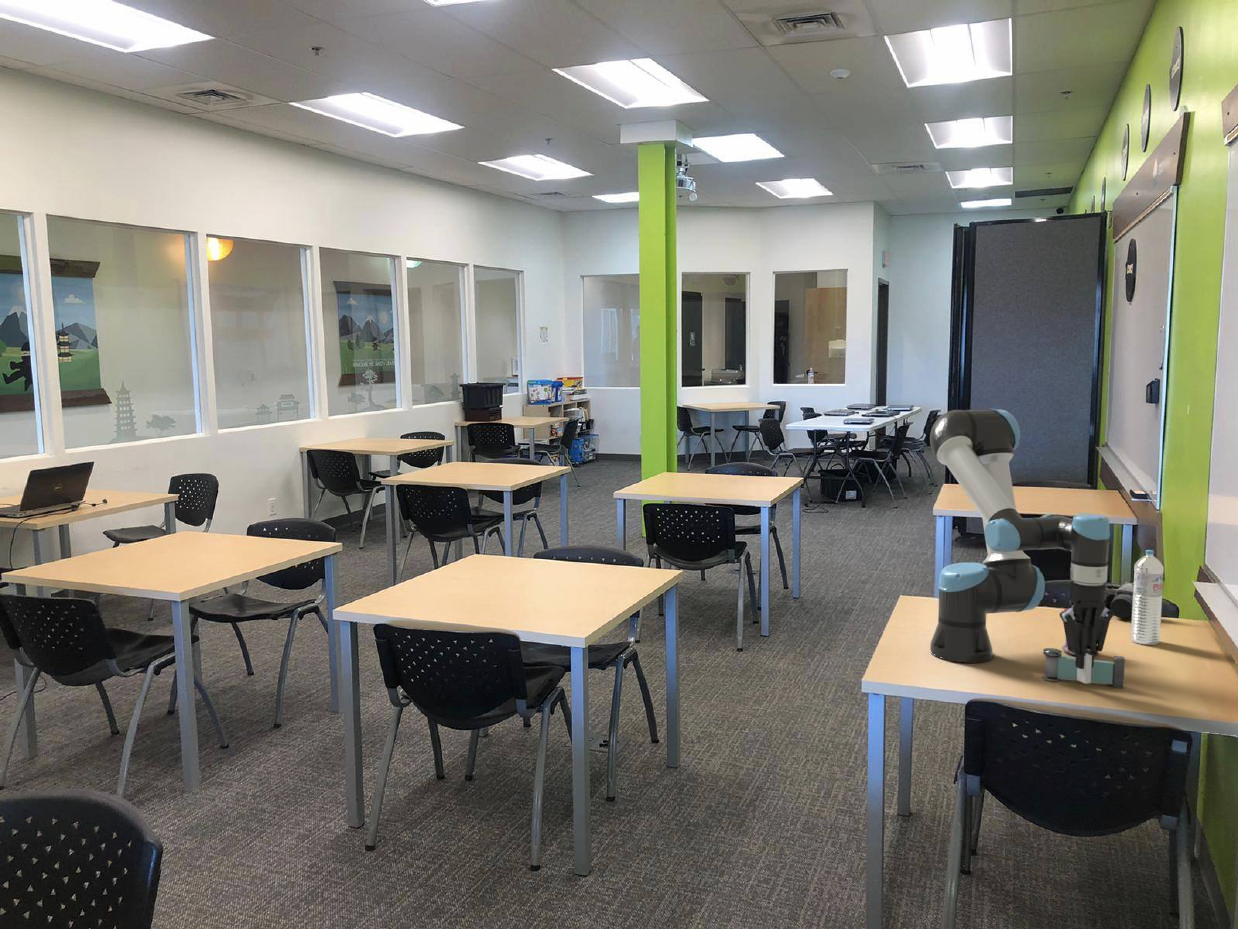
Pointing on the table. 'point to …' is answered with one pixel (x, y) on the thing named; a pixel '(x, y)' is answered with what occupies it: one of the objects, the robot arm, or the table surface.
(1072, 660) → the teal rectangular bar
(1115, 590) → the camera
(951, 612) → the robot arm
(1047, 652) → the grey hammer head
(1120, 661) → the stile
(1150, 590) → the water bottle
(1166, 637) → the table surface
